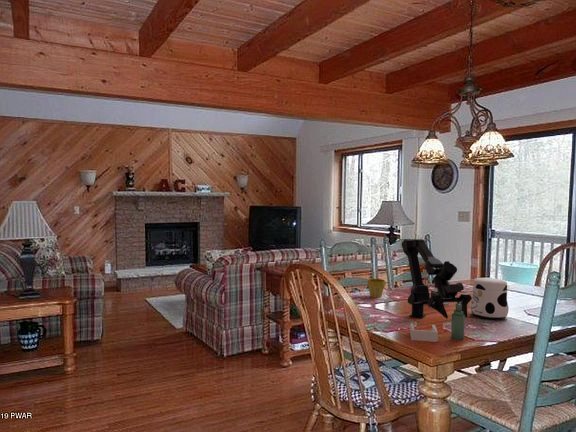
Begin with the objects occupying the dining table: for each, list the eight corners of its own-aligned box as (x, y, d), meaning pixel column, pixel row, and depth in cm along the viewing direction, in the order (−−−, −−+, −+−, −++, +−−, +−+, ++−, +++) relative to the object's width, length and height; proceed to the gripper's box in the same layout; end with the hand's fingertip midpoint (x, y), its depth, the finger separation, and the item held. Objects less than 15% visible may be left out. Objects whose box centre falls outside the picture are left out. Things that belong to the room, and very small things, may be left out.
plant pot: (388, 297, 260) (389, 281, 260) (374, 299, 256) (374, 282, 255) (377, 293, 269) (378, 277, 269) (363, 295, 265) (363, 279, 264)
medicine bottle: (430, 302, 251) (431, 281, 250) (439, 300, 254) (440, 280, 254) (439, 305, 245) (440, 283, 244) (449, 303, 248) (450, 282, 247)
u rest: (409, 332, 196) (410, 323, 196) (434, 334, 194) (434, 325, 194) (411, 339, 186) (411, 330, 186) (437, 342, 184) (437, 332, 184)
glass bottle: (452, 335, 193) (453, 302, 192) (465, 337, 190) (466, 303, 189) (449, 338, 189) (450, 304, 188) (462, 340, 186) (464, 306, 185)
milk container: (462, 313, 228) (463, 278, 227) (487, 310, 235) (488, 276, 234) (490, 323, 212) (491, 285, 211) (516, 319, 219) (517, 282, 218)
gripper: (431, 276, 192) (445, 308, 182) (470, 275, 196) (485, 306, 186) (421, 291, 200) (434, 322, 190) (459, 289, 204) (473, 320, 194)
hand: (457, 317), depth 190 cm, fingers open, 9 cm apart
